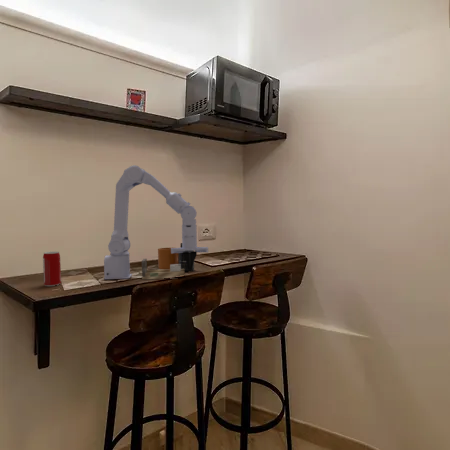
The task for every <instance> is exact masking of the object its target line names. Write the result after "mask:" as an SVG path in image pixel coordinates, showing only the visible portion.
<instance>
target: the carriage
mask: <svg viewBox="0 0 450 450" xmlns="http://www.w3.org/2000/svg"><path fill="white" fill-rule="evenodd" d="M170 272H181V264H170Z"/></svg>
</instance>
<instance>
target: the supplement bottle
mask: <svg viewBox="0 0 450 450" xmlns="http://www.w3.org/2000/svg"><path fill="white" fill-rule="evenodd" d="M179 248H182V242H180V247H179ZM193 251H194V250H193ZM182 252H183V251H182ZM189 262H190V253H189ZM178 264H181V269H184V271H185V273H191V272H194V271H195V262H194V263H193V267H192V271H189V272H188V266H187V263H186V260H185V258H184V256H183V253H178Z"/></svg>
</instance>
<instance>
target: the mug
mask: <svg viewBox="0 0 450 450" xmlns="http://www.w3.org/2000/svg"><path fill="white" fill-rule="evenodd" d="M171 248H172V247H160V248H158V249H157V261H158V264H157V265H158V270H165V269H170V264H178V253H171Z"/></svg>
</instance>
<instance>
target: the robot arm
mask: <svg viewBox="0 0 450 450" xmlns="http://www.w3.org/2000/svg"><path fill="white" fill-rule="evenodd" d="M142 184H144V185H148V186H150V187H152V188H153V189H154V190H155V191H157V192H158V193H159V194H160V195H161V196H163V198H165V204H166V205H168V206H169V207H170V209H172V210H173V211H175V213H177V214H180V217H181V219H182V225H181V234H182V235H181V243H182V248H181V247H170V248H171V253H183V256H184V258H185V260H186V263H187V266H188V272H187V273H190V272H189V271H191V272H193V271H192V267H193V263H194V264H195V260H196V257H197V255H198V253H209V247H208V246H201V247H200V246H199V247H198V236H197V235H198V234H197V233H198V232H197V219H196V217H197V210H196V208H195V207H194V206H192V205H191V203H190V202H189V201H186V200H185V199H184V198H183V197H182V194H181V193H178V192H176V191H173V192H171V191H170V190H169V189H168V187H166V186H165V185H164V184H163V183H162V182H161V181H160V180H159V179H157V177H155V176H154V175H152V174H151V173H149V172H148V171H146V170H145V169H143V168H141V167H140V166H138V165H131V166H128V167H127V168H126V169H124V171H123V173H122V175H121V176H120V177H119V179H118V180H117V182H116V184H115V198H114V202H115V203H114V217H113V218H114V221H113V222H114V223H113V231H112V234H111V237H110V241H109V242H108V245H107V246H108V247H107V249H108V251H109V252H110V254H109V255H107V254H106V255H105V256H104V259H103V269H104V270H103V271H104V272H103V273H104V274H103V275H104V277H103V279H104V280H117V279H118V280H119V279H120V280H121V279H123V280H124V279H130V278H131V277H132V275H133V273H131V265H130V264H131V263H130V261H131V260H130V252H129V250H130V248H131V242H130V238H129V231H128V226H129V225H128V221H129V202H130V191H131V190H133V189H134V188H135V187H136V186H139V185H142ZM193 250H194V251H193ZM182 251H183V252H182ZM189 253H190V262H189Z"/></svg>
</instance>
